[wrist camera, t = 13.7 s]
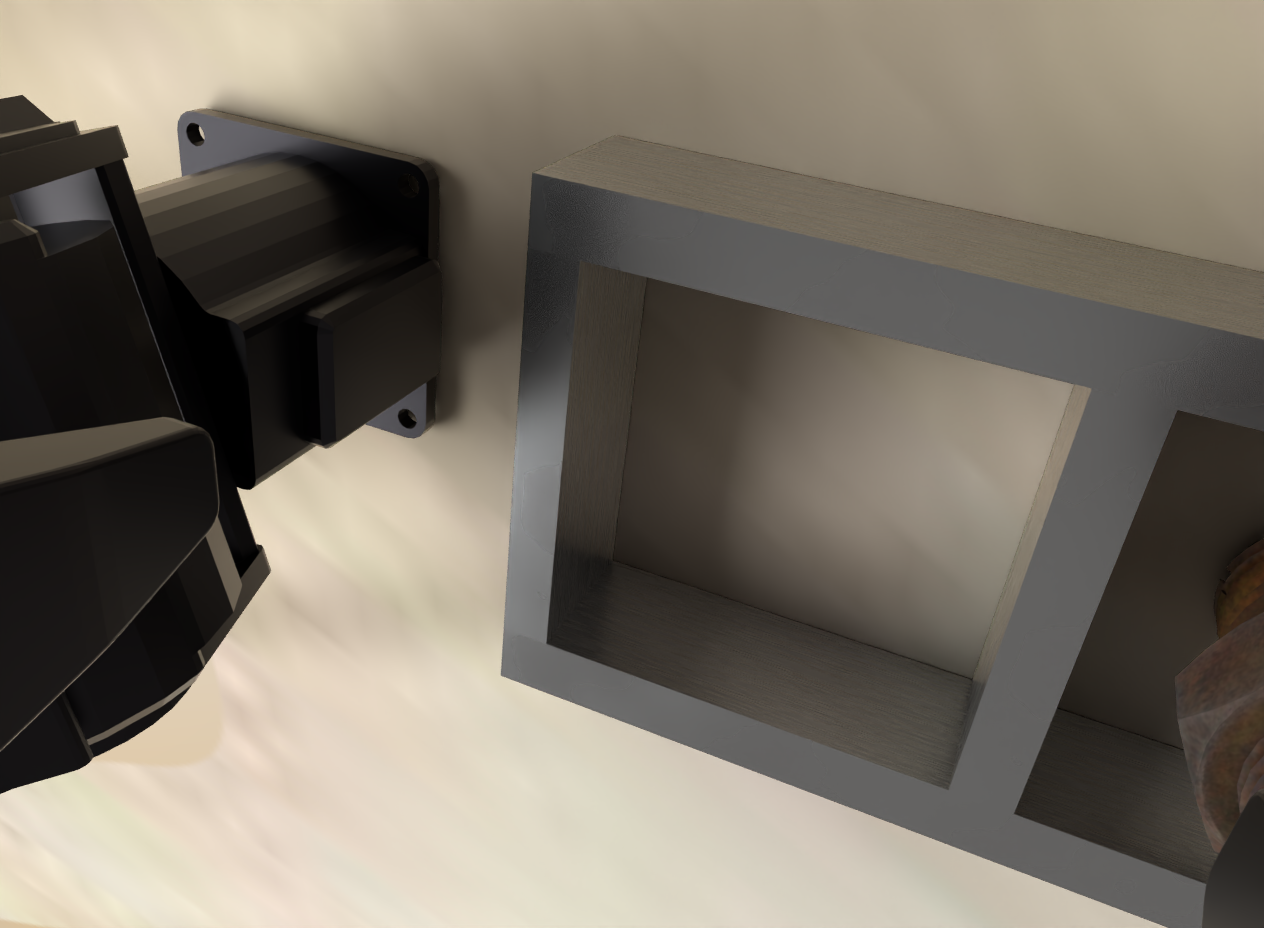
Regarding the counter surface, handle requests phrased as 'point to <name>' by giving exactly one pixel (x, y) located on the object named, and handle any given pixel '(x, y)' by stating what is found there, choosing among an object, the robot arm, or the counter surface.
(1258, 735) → the bolt
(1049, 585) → the grey divided tray
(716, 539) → the counter surface
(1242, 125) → the counter surface
